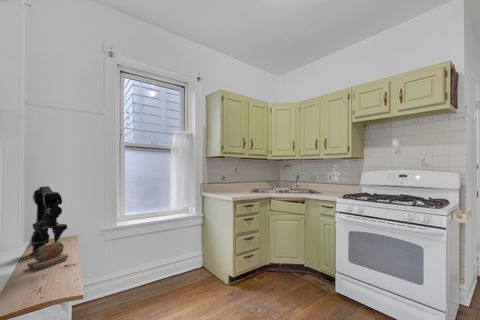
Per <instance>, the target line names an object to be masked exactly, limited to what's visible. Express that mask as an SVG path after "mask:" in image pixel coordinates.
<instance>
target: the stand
mask: <svg viewBox="0 0 480 320" xmlns="http://www.w3.org/2000/svg"><path fill="white" fill-rule="evenodd" d="M67 258H69V255H68V254H65V253H61V254H60V255H59V256H57V257H54V258H51V259H49V260H46V261H37V260H34V261H30V262H28V263H27V264H26V267H28V270H33V271H41V270H43V269H46V268H49V267H51V266H54V265H56V264H59V263H62V262H64V261H67Z"/></svg>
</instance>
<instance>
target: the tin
mask: <svg viewBox="0 0 480 320" xmlns="http://www.w3.org/2000/svg"><path fill="white" fill-rule="evenodd" d="M63 250H64V245H63V243H62V242H60V241H57V242H51V243H46V244H45V245H44V246H41V247H39V248H37V250H36V251H35V253H34V255H33V256H34V259H35V261H46V260H49V259H51V258H54V257H57V256H59V255H60V254H63Z"/></svg>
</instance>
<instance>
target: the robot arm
mask: <svg viewBox="0 0 480 320" xmlns="http://www.w3.org/2000/svg"><path fill="white" fill-rule="evenodd" d="M32 199H33V202H34V204H35V205H36V219H35V221H36V222H34V223H32V228H33V230H34V231H33V232H32V235H31V237H30V240H29V245H30V246H31V247H32V252H31V253H29V255H32V256H34V253H35V251H36V250H37V248H39V247H41V246H44V245H46V244H49V240H50V236H51V235H49V233H48V232H49V229H51V230H52V231H51V232H52V234H53V241H54V242H59V239H60V237H61V236H62V234H63V233H64V231H66V230H67V229H68V225H67V224H66V223H59V222H58V218H59V217H60V216H61V214H62V212H63V209H62V207H60V206H59V205H62V203H63V200H62V199H63V197H62V196H61V193H60V192H57V191H53V190H52V188H51V187H50V186H40V187H38V189H36V190H34V192H33V195H32ZM54 242H53V243H54Z"/></svg>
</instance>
